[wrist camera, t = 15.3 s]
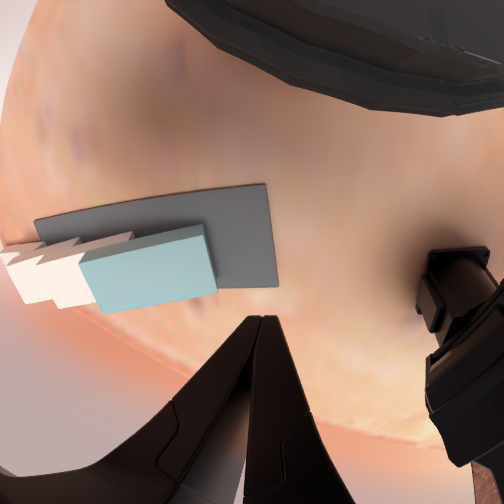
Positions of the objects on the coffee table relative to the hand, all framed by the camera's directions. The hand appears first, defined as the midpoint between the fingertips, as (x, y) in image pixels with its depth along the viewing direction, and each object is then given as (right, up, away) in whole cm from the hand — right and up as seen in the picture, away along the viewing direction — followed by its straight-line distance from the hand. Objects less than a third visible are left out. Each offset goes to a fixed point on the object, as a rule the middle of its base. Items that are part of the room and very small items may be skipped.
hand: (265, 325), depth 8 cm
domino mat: (-11, +2, +16) cm, 20 cm away
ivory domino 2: (-10, +1, +15) cm, 18 cm away
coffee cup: (+4, +16, +5) cm, 18 cm away
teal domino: (-4, +2, +14) cm, 14 cm away
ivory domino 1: (-16, +1, +16) cm, 23 cm away
